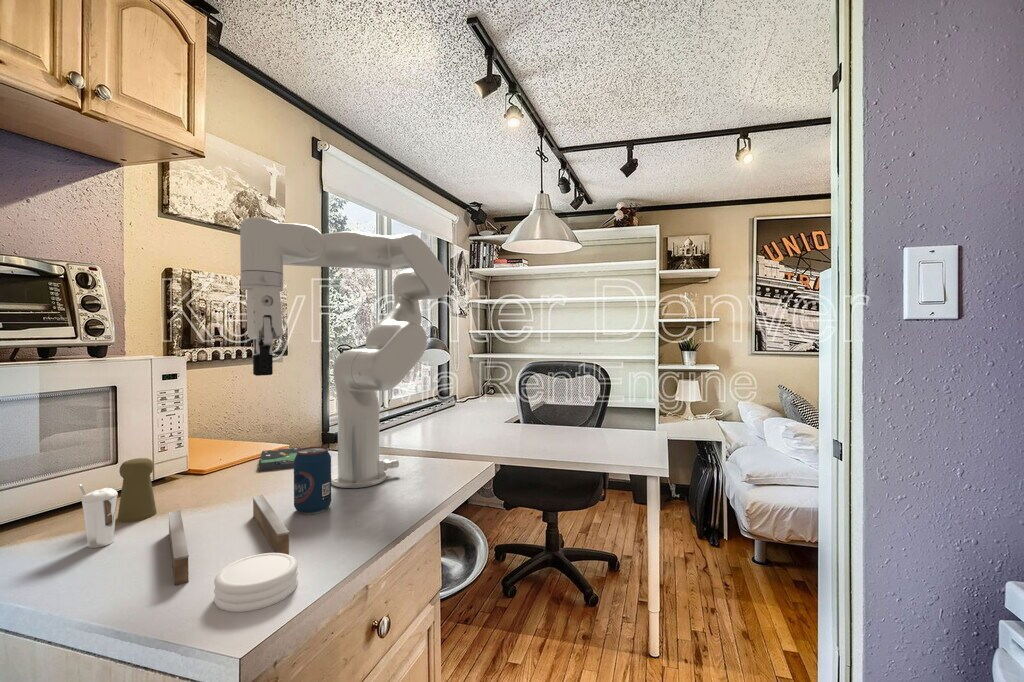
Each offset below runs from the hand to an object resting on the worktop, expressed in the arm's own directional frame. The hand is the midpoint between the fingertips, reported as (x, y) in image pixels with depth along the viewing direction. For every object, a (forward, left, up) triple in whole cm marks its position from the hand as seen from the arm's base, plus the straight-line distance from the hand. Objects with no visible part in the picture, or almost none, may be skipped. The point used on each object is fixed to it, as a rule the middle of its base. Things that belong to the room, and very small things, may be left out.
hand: (263, 374), depth 95 cm
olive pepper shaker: (+20, -12, -27) cm, 36 cm away
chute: (+8, +13, -27) cm, 31 cm away
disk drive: (-11, -38, -28) cm, 48 cm away
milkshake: (+25, 0, -27) cm, 37 cm away
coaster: (+7, +33, -28) cm, 43 cm away
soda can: (-8, +5, -27) cm, 29 cm away
